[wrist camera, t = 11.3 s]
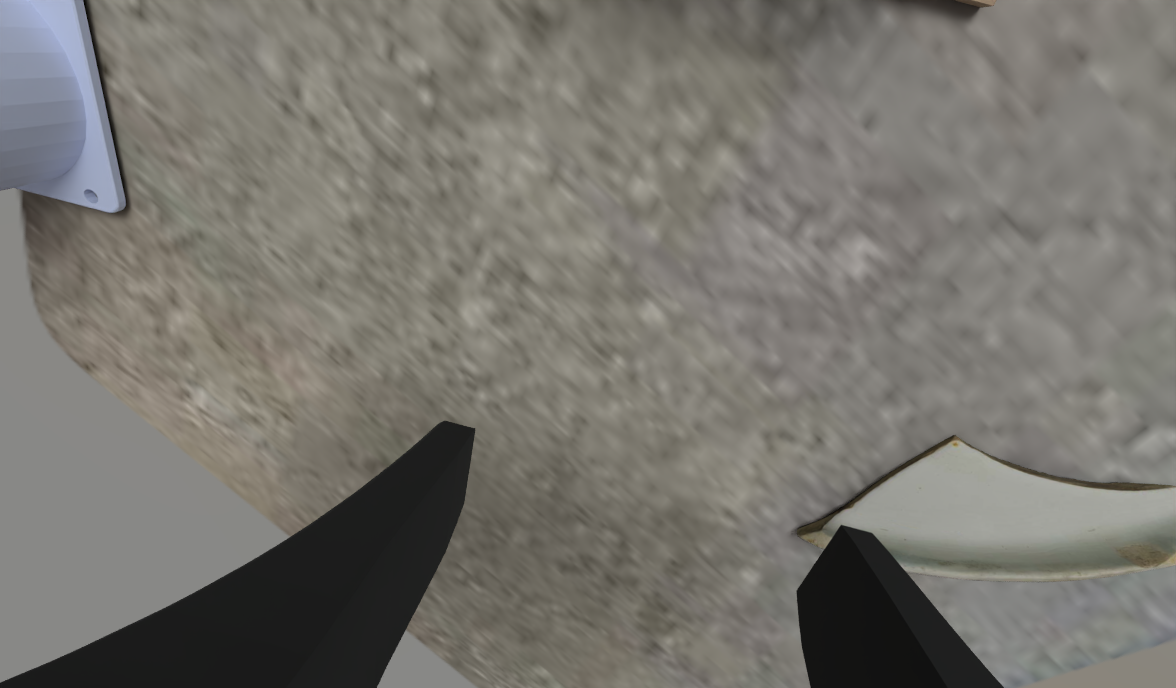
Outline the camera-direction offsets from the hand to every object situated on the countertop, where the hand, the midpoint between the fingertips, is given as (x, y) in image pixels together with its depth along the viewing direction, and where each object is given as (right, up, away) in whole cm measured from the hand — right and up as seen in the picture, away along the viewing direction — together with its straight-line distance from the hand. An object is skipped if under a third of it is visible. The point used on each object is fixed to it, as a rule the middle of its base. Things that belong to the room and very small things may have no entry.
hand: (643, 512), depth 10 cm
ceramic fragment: (+15, -3, +12) cm, 20 cm away
